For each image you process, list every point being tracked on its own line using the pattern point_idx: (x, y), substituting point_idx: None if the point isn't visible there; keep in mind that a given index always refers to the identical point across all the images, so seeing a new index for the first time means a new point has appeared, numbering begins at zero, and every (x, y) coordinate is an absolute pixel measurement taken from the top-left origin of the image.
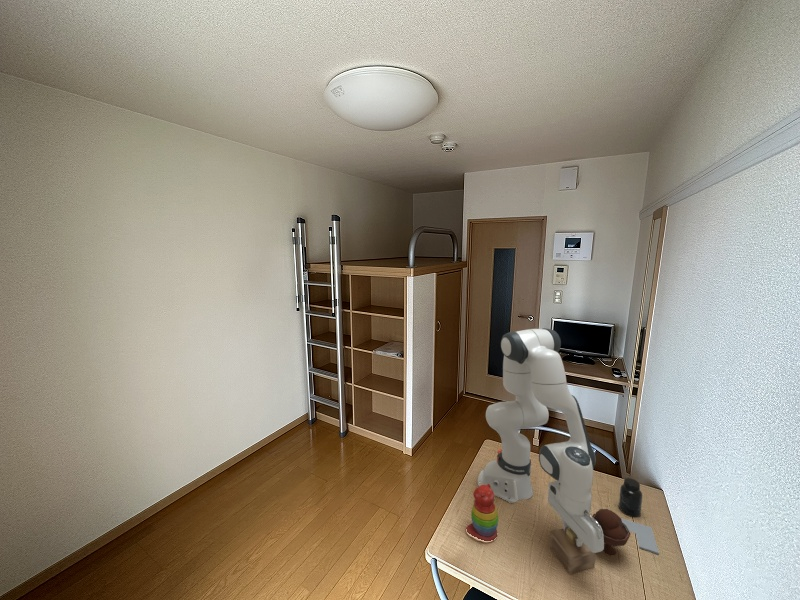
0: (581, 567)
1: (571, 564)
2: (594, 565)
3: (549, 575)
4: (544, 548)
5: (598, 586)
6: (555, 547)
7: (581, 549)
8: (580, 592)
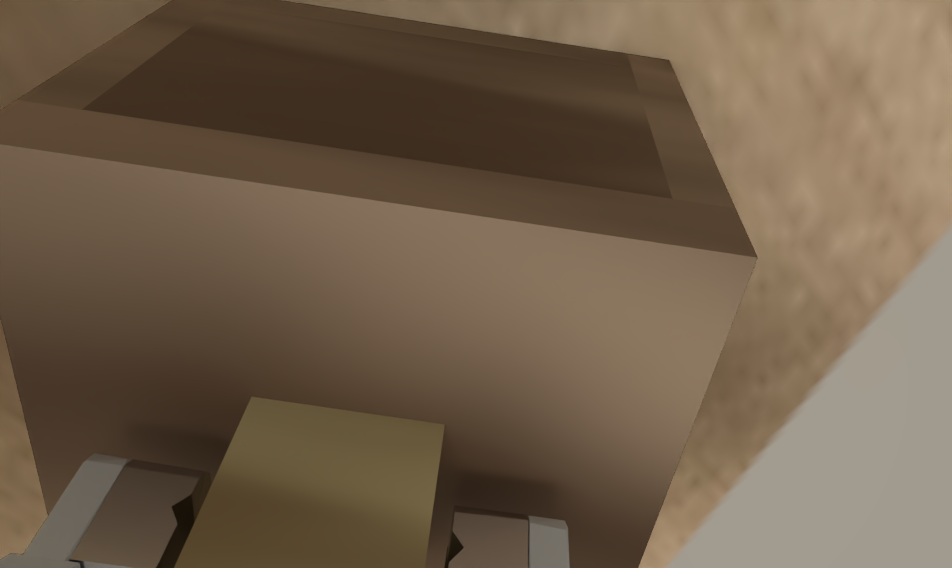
0: None
1: None
2: (681, 90)
3: None
4: None
5: (845, 223)
6: None
7: (584, 497)
8: (754, 446)
